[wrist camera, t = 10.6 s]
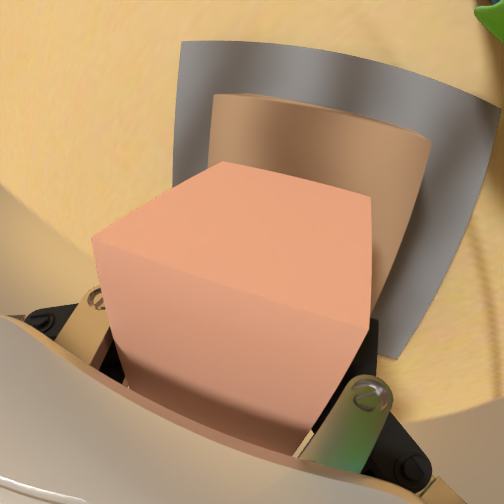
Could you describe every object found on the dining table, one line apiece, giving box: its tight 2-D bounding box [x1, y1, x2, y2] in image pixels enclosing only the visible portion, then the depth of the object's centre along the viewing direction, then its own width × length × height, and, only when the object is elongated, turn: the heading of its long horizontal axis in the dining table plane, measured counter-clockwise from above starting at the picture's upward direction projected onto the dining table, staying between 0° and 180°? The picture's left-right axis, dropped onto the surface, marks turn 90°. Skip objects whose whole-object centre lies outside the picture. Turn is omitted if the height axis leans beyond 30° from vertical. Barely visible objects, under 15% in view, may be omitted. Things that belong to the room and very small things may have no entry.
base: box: [172, 41, 501, 359], centre depth 16 cm, size 18×18×6 cm
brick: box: [91, 161, 372, 456], centre depth 9 cm, size 5×8×6 cm, turn 173°
